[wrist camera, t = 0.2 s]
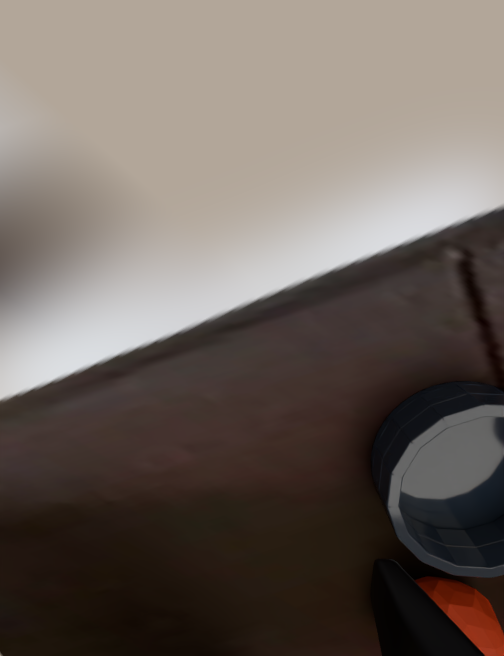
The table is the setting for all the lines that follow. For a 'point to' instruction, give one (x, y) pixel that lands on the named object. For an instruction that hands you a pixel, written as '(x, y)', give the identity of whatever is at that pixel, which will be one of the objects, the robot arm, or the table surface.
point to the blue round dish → (446, 476)
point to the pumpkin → (467, 612)
